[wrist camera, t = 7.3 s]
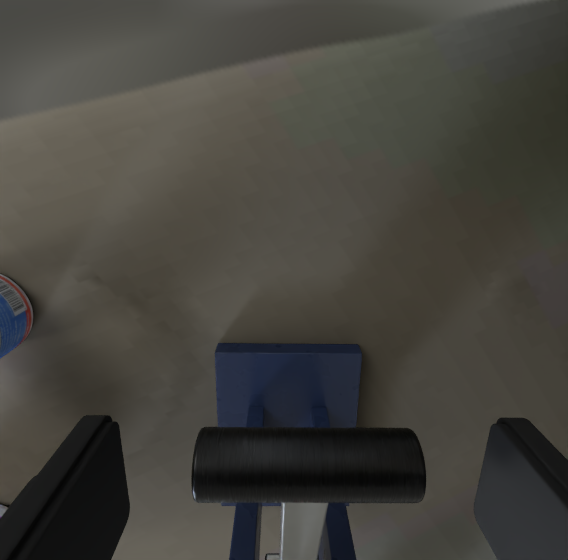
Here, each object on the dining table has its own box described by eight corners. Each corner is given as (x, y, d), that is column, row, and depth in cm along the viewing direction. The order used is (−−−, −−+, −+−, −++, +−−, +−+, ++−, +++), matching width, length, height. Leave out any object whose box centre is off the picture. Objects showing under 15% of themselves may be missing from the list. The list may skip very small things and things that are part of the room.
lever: (203, 398, 9) (182, 504, 7) (407, 399, 9) (441, 505, 7) (235, 574, 17) (229, 648, 15) (344, 574, 17) (353, 647, 15)
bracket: (218, 342, 24) (154, 529, 12) (358, 344, 24) (440, 529, 12) (223, 490, 27) (179, 752, 15) (346, 491, 28) (399, 750, 15)
